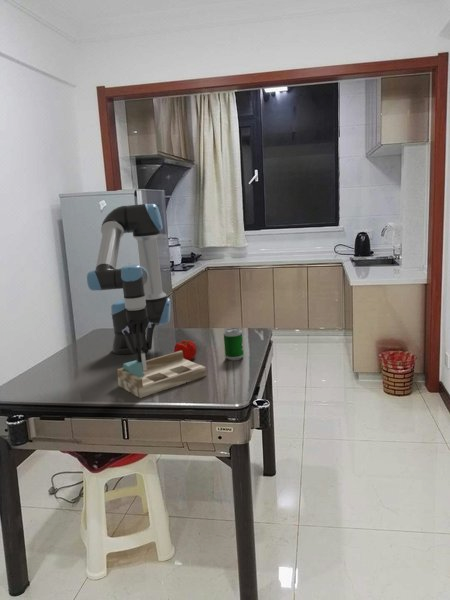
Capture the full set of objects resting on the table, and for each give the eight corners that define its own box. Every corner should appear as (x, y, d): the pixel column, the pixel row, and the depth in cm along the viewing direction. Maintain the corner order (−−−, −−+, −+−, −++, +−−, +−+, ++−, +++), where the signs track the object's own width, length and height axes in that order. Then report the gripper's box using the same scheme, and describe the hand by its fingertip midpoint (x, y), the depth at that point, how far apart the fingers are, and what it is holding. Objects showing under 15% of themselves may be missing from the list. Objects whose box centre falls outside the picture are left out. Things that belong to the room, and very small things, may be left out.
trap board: (118, 385, 189) (116, 369, 187) (182, 365, 205) (180, 350, 203) (140, 398, 175) (138, 380, 174) (206, 375, 191) (204, 359, 190)
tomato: (180, 364, 207) (178, 346, 205) (172, 358, 215) (170, 341, 213) (201, 359, 211) (199, 342, 210) (192, 354, 219) (190, 337, 217)
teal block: (124, 376, 188) (123, 363, 187) (137, 372, 190) (135, 360, 189) (130, 379, 184) (129, 366, 182) (143, 376, 186) (141, 363, 185)
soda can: (242, 360, 205) (240, 332, 202) (224, 361, 206) (221, 332, 204) (245, 354, 212) (243, 327, 209) (227, 355, 214) (225, 327, 211)
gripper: (147, 303, 191) (154, 362, 196) (115, 310, 184) (123, 371, 189) (156, 305, 185) (163, 367, 190) (123, 313, 178) (132, 376, 182)
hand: (143, 369), depth 189 cm, fingers closed
